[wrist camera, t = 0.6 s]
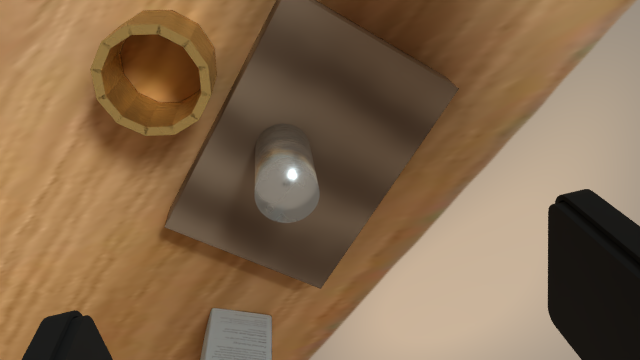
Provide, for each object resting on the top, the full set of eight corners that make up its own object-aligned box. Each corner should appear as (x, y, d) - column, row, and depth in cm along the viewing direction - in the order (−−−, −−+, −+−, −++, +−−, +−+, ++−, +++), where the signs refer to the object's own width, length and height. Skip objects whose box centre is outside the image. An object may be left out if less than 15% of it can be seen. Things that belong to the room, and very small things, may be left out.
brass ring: (134, -10, 35) (116, 1, 31) (232, 42, 37) (229, 59, 33) (97, 82, 38) (76, 105, 33) (191, 125, 40) (182, 152, 35)
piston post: (271, 114, 37) (273, 155, 31) (319, 138, 38) (331, 182, 32) (246, 159, 38) (243, 207, 32) (293, 181, 40) (299, 231, 33)
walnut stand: (285, -18, 36) (287, -12, 33) (445, 77, 40) (458, 88, 37) (170, 207, 43) (164, 227, 40) (317, 267, 47) (320, 288, 44)
